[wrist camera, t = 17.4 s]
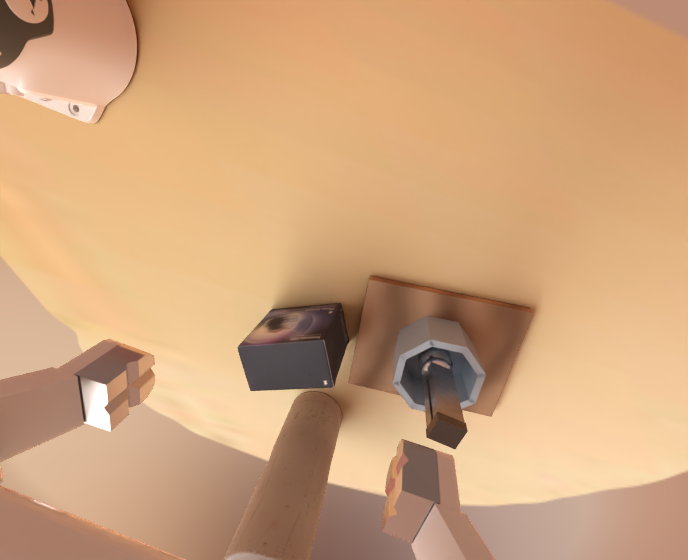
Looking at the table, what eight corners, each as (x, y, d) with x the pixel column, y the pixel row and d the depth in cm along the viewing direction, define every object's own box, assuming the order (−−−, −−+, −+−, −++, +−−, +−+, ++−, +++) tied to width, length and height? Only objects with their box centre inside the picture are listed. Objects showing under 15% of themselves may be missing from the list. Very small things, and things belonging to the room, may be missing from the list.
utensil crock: (389, 372, 45) (387, 402, 39) (404, 310, 42) (405, 334, 36) (459, 389, 44) (468, 422, 39) (481, 327, 41) (494, 353, 35)
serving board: (350, 376, 48) (348, 382, 47) (369, 275, 42) (368, 279, 41) (488, 409, 46) (491, 416, 45) (529, 307, 40) (533, 313, 39)
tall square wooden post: (441, 373, 43) (457, 457, 31) (412, 361, 43) (417, 440, 31) (455, 349, 41) (478, 427, 29) (426, 337, 41) (436, 410, 29)
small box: (341, 299, 44) (325, 338, 34) (350, 341, 46) (336, 390, 36) (269, 307, 46) (234, 346, 37) (280, 347, 48) (249, 394, 39)
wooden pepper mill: (294, 430, 53) (194, 686, 27) (289, 389, 51) (173, 630, 25) (343, 434, 52) (286, 707, 26) (340, 392, 49) (274, 650, 23)
